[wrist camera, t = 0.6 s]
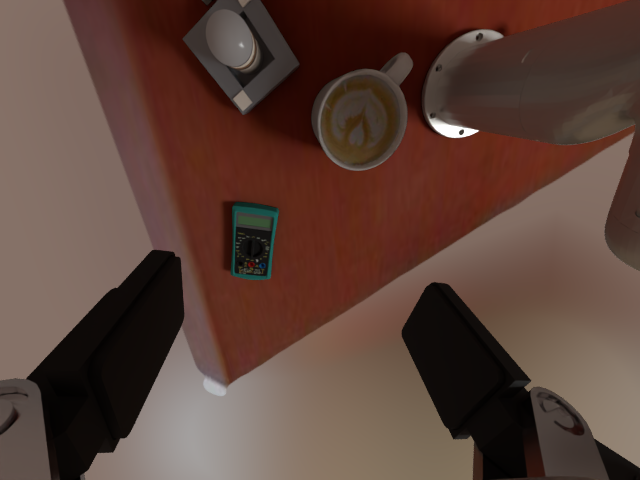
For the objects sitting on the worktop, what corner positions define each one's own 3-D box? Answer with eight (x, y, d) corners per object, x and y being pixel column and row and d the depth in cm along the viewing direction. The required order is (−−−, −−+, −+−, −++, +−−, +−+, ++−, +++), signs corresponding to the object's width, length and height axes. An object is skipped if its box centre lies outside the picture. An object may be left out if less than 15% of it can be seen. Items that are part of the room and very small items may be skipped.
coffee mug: (338, 167, 38) (350, 187, 29) (296, 111, 33) (297, 116, 25) (412, 107, 35) (451, 111, 26) (377, 36, 30) (410, 12, 22)
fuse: (247, 25, 28) (228, -4, 20) (269, 60, 29) (261, 46, 22) (223, 50, 29) (195, 31, 21) (246, 82, 30) (229, 76, 22)
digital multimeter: (232, 270, 47) (229, 280, 44) (234, 199, 40) (230, 206, 37) (270, 274, 48) (269, 283, 46) (279, 205, 41) (278, 213, 38)
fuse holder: (249, -14, 27) (242, -30, 24) (299, 67, 31) (299, 63, 28) (193, 45, 29) (181, 38, 26) (247, 113, 33) (242, 115, 30)
